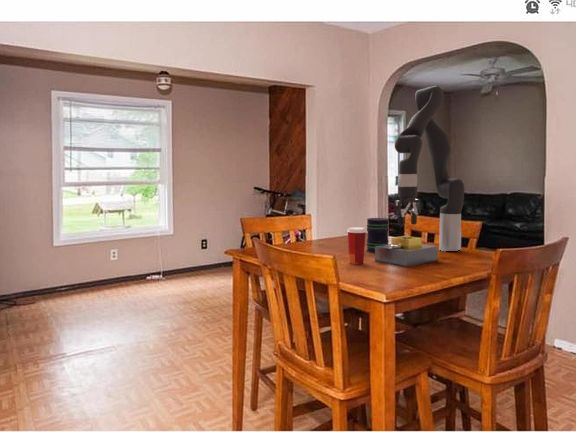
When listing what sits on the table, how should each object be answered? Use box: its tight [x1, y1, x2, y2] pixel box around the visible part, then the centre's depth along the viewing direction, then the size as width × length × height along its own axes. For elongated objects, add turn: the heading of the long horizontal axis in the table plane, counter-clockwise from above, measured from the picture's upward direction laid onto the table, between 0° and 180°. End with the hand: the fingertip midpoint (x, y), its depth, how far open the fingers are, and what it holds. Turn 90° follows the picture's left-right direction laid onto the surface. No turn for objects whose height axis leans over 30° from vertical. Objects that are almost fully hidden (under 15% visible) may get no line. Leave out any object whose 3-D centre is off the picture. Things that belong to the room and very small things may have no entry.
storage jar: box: [366, 217, 390, 254], centre depth 214 cm, size 10×10×15 cm
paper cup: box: [346, 226, 367, 265], centre depth 187 cm, size 8×8×14 cm
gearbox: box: [374, 235, 439, 268], centre depth 191 cm, size 20×16×10 cm
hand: (407, 225), depth 190 cm, fingers open, 8 cm apart
